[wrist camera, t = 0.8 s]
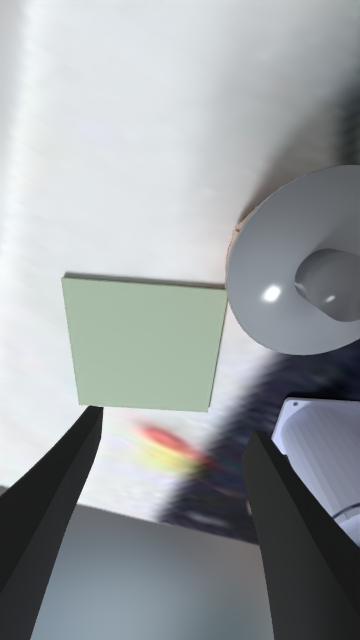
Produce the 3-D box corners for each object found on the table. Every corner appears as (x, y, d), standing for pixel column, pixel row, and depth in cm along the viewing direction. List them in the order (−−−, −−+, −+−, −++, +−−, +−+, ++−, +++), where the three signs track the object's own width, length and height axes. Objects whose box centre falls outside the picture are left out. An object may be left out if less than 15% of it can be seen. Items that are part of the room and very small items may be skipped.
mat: (227, 289, 19) (228, 290, 18) (207, 409, 24) (207, 412, 24) (63, 276, 18) (60, 278, 18) (80, 401, 24) (79, 404, 23)
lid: (451, 177, 12) (555, 164, 9) (364, 353, 17) (411, 389, 14) (244, 158, 12) (269, 137, 9) (214, 343, 17) (222, 377, 13)
